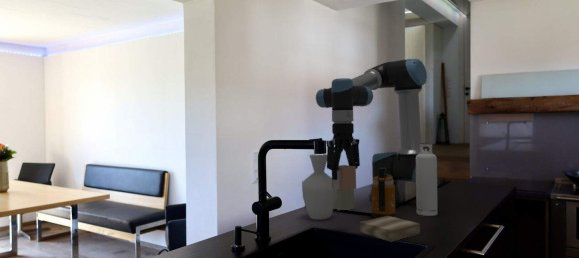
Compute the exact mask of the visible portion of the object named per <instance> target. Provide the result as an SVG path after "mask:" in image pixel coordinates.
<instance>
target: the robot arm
mask: <svg viewBox="0 0 579 258" xmlns="http://www.w3.org/2000/svg"><path fill="white" fill-rule="evenodd" d="M427 79H428V73H427V70H426V67H425V65H424V63H423V61H421V60H420V59H419V58H406V59H402V60H401V59H400V60H394V61H387V62H383V63H380V64H378V65H376V66H374V67H371V68H368V69H366V70H365V71H364V72H363V74H360V75H358V76H356V77H354V78H345V77H343V78H335V79H333V80H332V81H331V87H329V88H323V89H322V88H321V89H318V90H317V92H316V94H315V101H316V104H317V106H318V107H319V108H324V109H325V108H326V109H329V108H331V122H332V124H331V126H332V127H331V129H332V130H331V132H332V134H333V136H332V139H330V140H326V142H325V144H326V146H327V147H326V148H327V149H326V150H327V151H326V154H327V162H326V169H327V170H330V171H331V178H332V180H333V188H334V189H338V190H339V189H340V171H338V167H339V166H340V160H341V157H342V153H343V151H344V152H345V156H346V160H347V164H348V165H349V166H356V170H358V168H359V167H360V166H361V160H360V148H359V147H360V146H359V145H360V139H359V138H354V136H353V134H354V132H355V131H354V130H355V129H354V128H355V127H354V126H355V125H354V123H353V121H354V107H367V106H370V105H371V103H372V102H373V99H374V93H373V91H376V90H378V89H384V88H385V89H386V88H387V89H388V88H389V89H390V88H394V89H393V90H394V93H395V94H397V96H398V98H397V99H398V113H399V115H398V116H399V117H398V118H399V132H400V133H399V134H400V149H399V150H398V151H389V152H388V151H386V152H379V153H374V154H373V155H372V157H371V159H372V160H371V167H372V168H371V171H372V175H371V176H372V179H373V178H374V177H377V176H378V172H379V169H380V167H386V169H387V171H386V173H387V174H388V177H389V175H391V176H392V178H393V185H394V186H395V203H397V204H400V202H401V203H402V202H403V196H402V194H401V189H400V188H399V181H402V182H413V183H416V156H417V155H418V154H420V145H422V136H421V135H422V134H421V133H422V132H421V115H420V99H419V98H420V95H419V93H420V92H422V91H423V86H424V85H425V84H426V83H427ZM386 176H387V175H386ZM368 201H369V202H370V203H372V191H371V190H370V194H369V195H368Z"/></svg>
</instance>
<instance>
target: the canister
mask: <svg viewBox="0 0 579 258" xmlns="http://www.w3.org/2000/svg"><path fill="white" fill-rule="evenodd" d="M386 171H387V169H386V167H380V169H379V172H378V176H377V177H374V178H373V177H372V184H371V186H370V187H371V189H370V192H371V191H372V202H371V217H373V219H376V218H380V217H385V216H391V217H395V218H396V204H395V186H394V185H393V178H392V176H391V175H389V177H388V174H387V173H386ZM386 175H387V176H386Z"/></svg>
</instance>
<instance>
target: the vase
mask: <svg viewBox="0 0 579 258" xmlns="http://www.w3.org/2000/svg"><path fill="white" fill-rule="evenodd" d="M316 154H317V153H316ZM316 154H313V153H312V154H309V158H310V161H311V165H312V168H313V169H312V170H313V172H312V173H311V174H310V175H308V176H307V177H306V178H305V179H304V180H303V181H301V190H302V200H303V203H304V206H305V208H306V211H307V214H308V216H309V218H310V219H311V220H319V221H320V220H326V219H327V220H328V219H329V218H331V217H332V215H333V212H334V205H335V200H336V196H337V190H336V189H332V176H330V175H329V174H327V173H326V172H325V169H326V167H327V153H326V154H325V153H322V154H323V155H316Z"/></svg>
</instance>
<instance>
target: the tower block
mask: <svg viewBox="0 0 579 258" xmlns="http://www.w3.org/2000/svg"><path fill="white" fill-rule="evenodd" d="M338 171H340V189H339V190H340V191H347V190H353V189H354V190H357V169H356V166H349V164H348V165H346V164H342V165H340V164H339V167H338ZM332 189H334V188H333V180H332ZM336 190H338V189H336Z"/></svg>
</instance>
